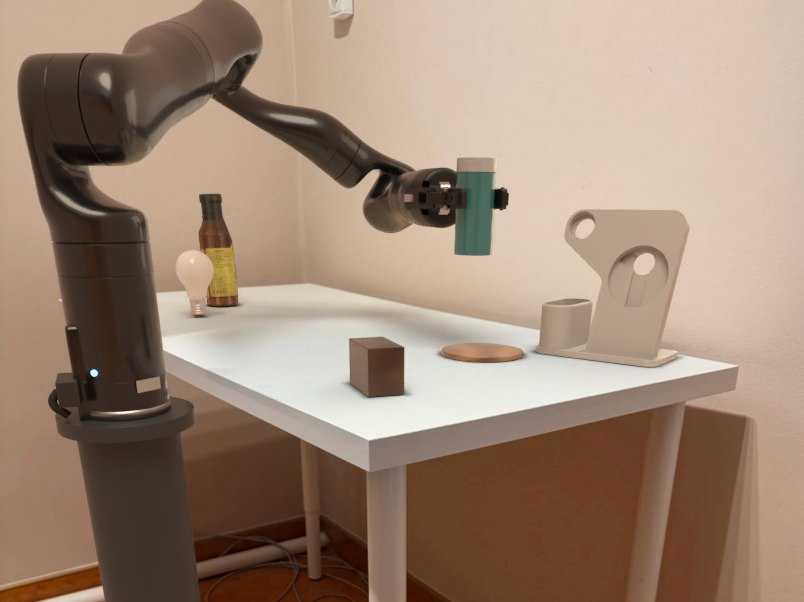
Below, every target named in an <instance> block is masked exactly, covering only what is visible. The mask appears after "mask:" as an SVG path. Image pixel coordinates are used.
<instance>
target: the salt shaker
mask: <svg viewBox="0 0 804 602" xmlns="http://www.w3.org/2000/svg"><path fill="white" fill-rule="evenodd" d="M456 172H457V184H456V189H467V206H466V208H465V209H457V208H456V213H455V224H454V244H453V245H454V247H453V254H454V255H456V256H465V257H467V256H468V257H469V256H470V257H472V256H473V257H485V256H492V254H493V239H494V223H495V222H494V219H495V210H494V204H495V188H496V181H497V172H498V158H497V157H487V156H486V157H485V156H483V157H482V156H465V157H464V156H463V157H456Z"/></svg>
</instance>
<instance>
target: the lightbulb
mask: <svg viewBox="0 0 804 602" xmlns="http://www.w3.org/2000/svg"><path fill="white" fill-rule="evenodd" d="M174 270H175V275H176V277H177V279H178V281H179V282H180V284H181V285H182V286H183V288H184V289H185V292H186V295H187V298H188V299H189V304H190V313H191V314H192V315H193V316H194V317H196V318H201V317H204V316H205V315H206V314H207V298H206V296H207V289H208V286H209V284H210V282H211V280H212V278H213V274H214V268H213V264H212V262H211V260H210V259H209V257H208V256H207V255H206V254H204V253H203V252H201V251H200V250H197V249H189V250H188V249H187V250H185V251H183V252H182V253H180V254H179V256H178V257H177V259H176V261H175V265H174Z"/></svg>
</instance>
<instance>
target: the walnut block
mask: <svg viewBox="0 0 804 602" xmlns="http://www.w3.org/2000/svg"><path fill="white" fill-rule="evenodd" d="M348 352H349V353H348V355H349V356H348V359H349V360H348V361H349V362H348V363H349V384H350V385H352V387H354V388H356V389H357V390H358V391H359V392H361V393H362V394H364V395H365V396H366V397H368V398H376V397H378V398H379V397H390V396H404V395H405V346H403V345H401V344H399V343H397V342H395V341H393V340H390V339H388V338H387V337H385V336H369V337H351V338H348Z"/></svg>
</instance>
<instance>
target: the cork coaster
mask: <svg viewBox="0 0 804 602" xmlns="http://www.w3.org/2000/svg"><path fill="white" fill-rule="evenodd" d="M440 351H441V352H440V353H441V355H442V356H443V357H445V358H447V359H451V360H456V361H461V362H472V363H501V362H502V363H503V362H510V361H516V360H520V359H521V358H523V357H524V350H523V349H522V348H521V347H517V346H514V345H508V344H501V343H488V342H467V343H466V342H463V343H455V344H449V345H446V346H443V347H441V350H440Z"/></svg>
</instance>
